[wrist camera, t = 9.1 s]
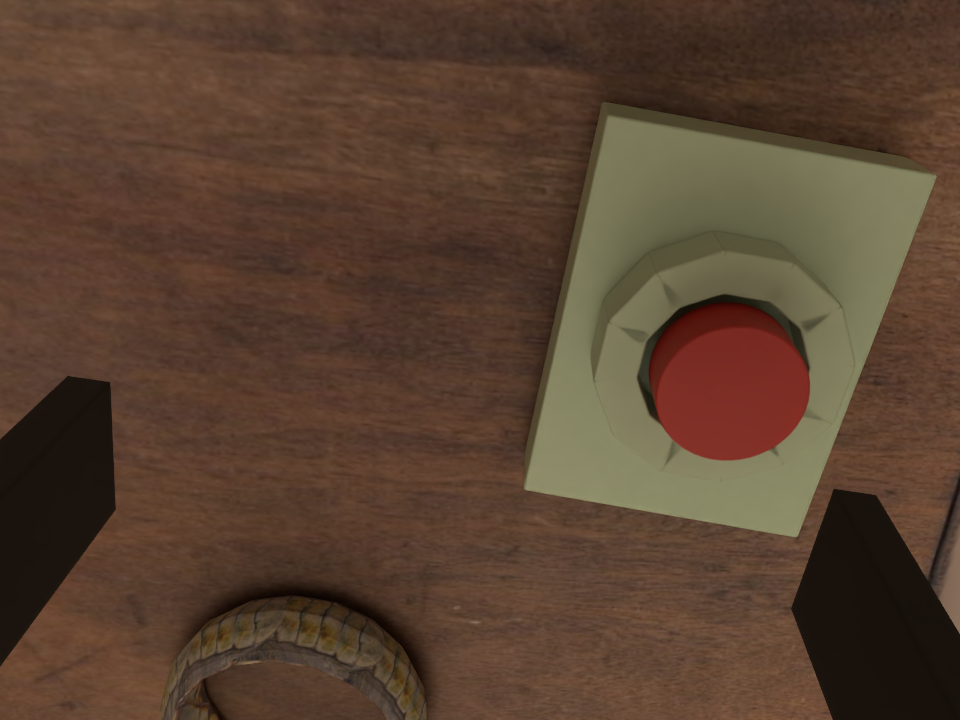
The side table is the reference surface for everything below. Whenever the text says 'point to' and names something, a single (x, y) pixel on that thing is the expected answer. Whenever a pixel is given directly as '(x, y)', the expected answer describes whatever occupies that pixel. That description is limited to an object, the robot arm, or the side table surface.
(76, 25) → the side table surface
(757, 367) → the button
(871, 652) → the robot arm
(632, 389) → the box
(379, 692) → the decorative ring
